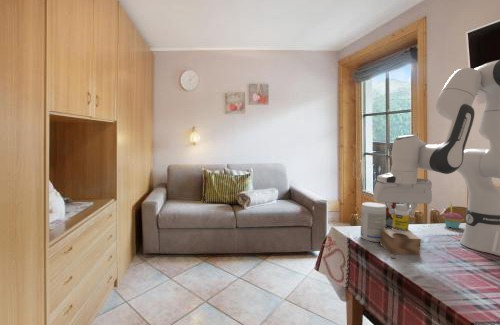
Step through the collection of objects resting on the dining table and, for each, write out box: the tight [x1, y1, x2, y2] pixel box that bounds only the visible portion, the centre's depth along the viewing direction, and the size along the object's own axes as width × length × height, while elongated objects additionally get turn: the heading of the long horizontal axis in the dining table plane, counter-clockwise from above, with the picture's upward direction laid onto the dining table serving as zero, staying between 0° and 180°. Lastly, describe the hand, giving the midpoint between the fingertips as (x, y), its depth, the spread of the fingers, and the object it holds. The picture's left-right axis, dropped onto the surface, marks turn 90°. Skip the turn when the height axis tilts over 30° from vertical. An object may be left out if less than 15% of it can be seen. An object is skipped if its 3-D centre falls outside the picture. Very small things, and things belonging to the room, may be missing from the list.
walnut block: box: [380, 228, 422, 256], centre depth 105 cm, size 10×10×6 cm
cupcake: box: [442, 203, 465, 229], centre depth 133 cm, size 9×8×12 cm
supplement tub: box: [360, 201, 386, 243], centre depth 115 cm, size 10×10×15 cm
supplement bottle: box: [391, 204, 410, 232], centre depth 104 cm, size 5×5×10 cm
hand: (400, 214), depth 104 cm, fingers closed on supplement bottle, 5 cm apart
